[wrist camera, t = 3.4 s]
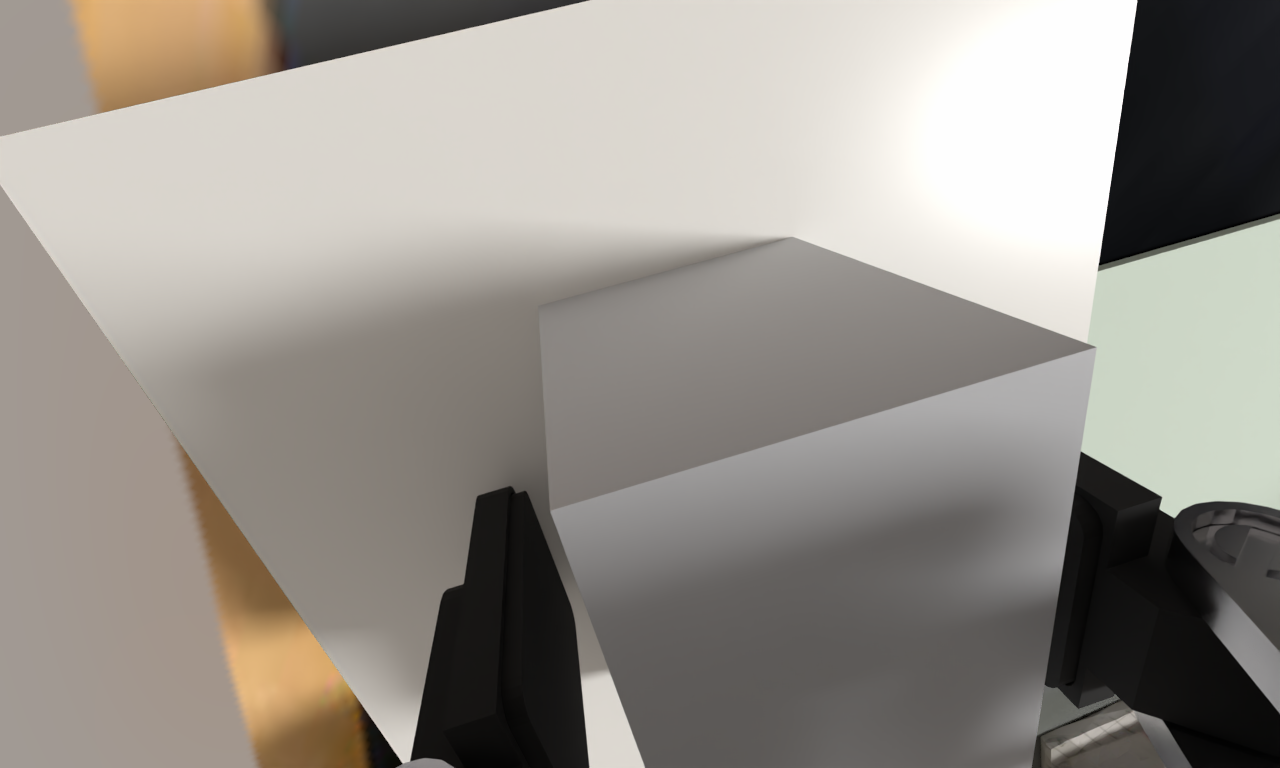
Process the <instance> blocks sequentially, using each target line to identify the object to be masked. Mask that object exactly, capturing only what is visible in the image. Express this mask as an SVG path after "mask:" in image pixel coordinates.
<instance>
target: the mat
mask: <svg viewBox="0 0 1280 768" xmlns="http://www.w3.org/2000/svg"><path fill="white" fill-rule="evenodd" d="M1087 344H1090V345H1092V346H1095V347H1097V350H1096V356H1095V363H1094V369H1093V375H1092V382H1091V388H1090V395H1089V401H1088V408H1087V414H1086V421H1085V427H1084V433H1083V440H1082V446H1081V452H1083V453H1085V454H1087V455H1088V456H1090V457H1092V458H1094V459H1096V460H1097V461H1099V462H1101V463H1103V464H1105V465H1106V466H1108V467H1110V468H1112V469H1113V470H1115V471H1117V472H1119V473H1121V474H1122V475H1124V476H1126V477H1128V478H1129V479H1131V480H1133V481H1135V482H1137V483H1138V484H1140V485H1142V486H1144V487H1145V488H1147V489H1149V490H1151V491H1153V492H1154V493H1156V494H1158V495H1160V496H1161V497H1162V500H1161V504H1160V510H1161V511H1163V512H1165V513H1166V514H1168V515H1170V516H1172V517H1173V518H1175V517H1176V516H1177V515H1178V514H1179V512H1180V511H1181V510H1182V509H1185V508H1187V507H1189V506H1192V505H1194V504H1197V503H1205V502H1212V501H1228V502H1243V503H1249V504H1254V505H1260V506H1266V507H1270V508H1273V509H1277V510H1280V214H1277V215H1274V216H1270V217H1267V218H1263V219H1260V220H1256V221H1253V222H1249V223H1246V224H1243V225H1239V226H1236V227H1232V228H1229V229H1225V230H1222V231H1218V232H1215V233H1211V234H1208V235H1204V236H1201V237H1197V238H1194V239H1190V240H1187V241H1183V242H1180V243H1176V244H1173V245H1169V246H1166V247H1163V248H1159V249H1156V250H1152V251H1149V252H1145V253H1142V254H1138V255H1135V256H1131V257H1128V258H1124V259H1121V260H1117V261H1114V262H1110V263H1107V264H1103V265H1100V266H1098V272H1097V279H1096V285H1095V292H1094V299H1093V306H1092V313H1091V320H1090V327H1089V333H1088V340H1087Z"/></svg>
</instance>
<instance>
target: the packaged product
mask: <svg viewBox="0 0 1280 768" xmlns="http://www.w3.org/2000/svg"><path fill="white" fill-rule="evenodd" d="M1041 768H1166V767H1165V766H1164V764H1163V762H1162V760H1161V759H1160V757H1159V755H1158V753H1157V752H1156V750H1155V748H1154V747H1153V745H1152V743H1151V741H1150V740H1149V738H1148V736H1147V735H1146V733H1145V731H1144V729H1143V728H1142V726H1141V724H1140V722H1139V721H1138V719H1137V717H1136V716H1135V713H1134V711H1133V710H1132V709H1131V708H1129V707H1128V706H1127V705H1126V704H1125V703H1124V702H1123V701H1120V702H1117V703H1115V704H1113V705H1110V706H1108V707H1106V708H1104V709H1102V710H1100V711H1098V712H1096V713H1094V714H1092V715H1090V716H1088V717H1086V718H1084V719H1082V720H1079V721H1077V722H1074V723H1071V724H1068V725H1066V726H1063V727H1060V728H1058V729H1056V730H1054V731H1051V732H1049V733H1047V734H1045V735H1043V736H1041Z"/></svg>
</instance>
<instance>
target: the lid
mask: <svg viewBox="0 0 1280 768" xmlns="http://www.w3.org/2000/svg"><path fill="white" fill-rule="evenodd" d="M1136 5H1137V0H590V1H585V2H581V3H577V4H572V5H568V6H564V7H559V8H555V9H551V10H546V11H542V12H538V13H533V14H529V15H525V16H520V17H516V18H512V19H507V20H503V21H499V22H494V23H490V24H486V25H481V26H477V27H473V28H468V29H464V30H460V31H455V32H451V33H447V34H442V35H438V36H434V37H429V38H425V39H421V40H416V41H412V42H408V43H403V44H399V45H395V46H390V47H386V48H382V49H377V50H373V51H369V52H364V53H360V54H356V55H351V56H347V57H343V58H338V59H334V60H330V61H325V62H321V63H317V64H312V65H308V66H304V67H299V68H295V69H291V70H286V71H282V72H278V73H273V74H269V75H265V76H260V77H256V78H252V79H247V80H243V81H239V82H234V83H230V84H226V85H221V86H217V87H213V88H208V89H204V90H200V91H195V92H191V93H187V94H182V95H178V96H174V97H169V98H165V99H161V100H156V101H152V102H148V103H143V104H139V105H135V106H130V107H126V108H122V109H117V110H113V111H109V112H104V113H100V114H96V115H91V116H87V117H83V118H78V119H74V120H70V121H65V122H61V123H57V124H52V125H48V126H44V127H39V128H35V129H31V130H26V131H22V132H18V133H14V134H9V135H5V136H0V186H1V187H2V188H3V190H4V191H5V193H6V194H7V196H8V197H9V199H10V200H11V201H12V203H13V204H14V206H15V207H16V209H17V210H18V211H19V213H20V214H21V216H22V217H23V219H24V220H25V222H26V223H27V224H28V226H29V227H30V229H31V230H32V232H33V233H34V234H35V236H36V237H37V239H38V240H39V242H40V243H41V245H42V246H43V247H44V249H45V250H46V252H47V253H48V254H49V256H50V257H51V259H52V260H53V262H54V263H55V265H56V266H57V268H58V269H59V270H60V272H61V273H62V274H63V276H64V277H65V279H66V280H67V282H68V283H69V285H70V286H71V288H72V289H73V290H74V292H75V293H76V295H77V296H78V298H79V299H80V300H81V302H82V303H83V305H84V306H85V307H86V309H87V311H88V312H89V313H90V315H91V316H92V318H93V319H94V321H95V322H96V324H97V325H98V326H99V328H100V329H101V331H102V332H103V334H104V335H105V336H106V338H107V339H108V341H109V342H110V344H111V345H112V346H113V348H114V349H115V351H116V352H117V354H118V355H119V356H120V358H121V359H122V361H123V362H124V364H125V365H126V367H127V368H128V369H129V371H130V372H131V374H132V375H133V377H134V378H135V380H136V381H137V382H138V384H139V385H140V387H141V388H142V390H143V391H144V392H145V394H146V395H147V397H148V398H149V400H150V401H151V403H152V404H153V405H154V407H155V408H156V410H157V411H158V412H159V414H160V415H161V417H162V418H163V420H164V421H165V423H166V424H167V425H168V427H169V428H170V430H171V431H172V433H173V434H174V436H175V437H176V438H177V440H178V441H179V443H180V444H181V446H182V447H183V448H184V450H185V451H186V453H187V454H188V456H189V457H190V459H191V460H192V461H193V463H194V464H195V466H196V467H197V469H198V470H199V471H200V473H201V474H202V476H203V477H204V479H205V480H206V482H207V483H208V484H209V486H210V487H211V489H212V490H213V492H214V493H215V494H216V496H217V497H218V499H219V500H220V502H221V503H222V504H223V506H224V507H225V509H226V510H227V512H228V513H229V515H230V516H231V517H232V519H233V520H234V522H235V523H236V525H237V526H238V527H239V529H240V530H241V532H242V533H243V535H244V536H245V538H246V539H247V540H248V542H249V543H250V545H251V546H252V548H253V549H254V550H255V552H256V553H257V555H258V556H259V558H260V559H261V561H262V562H263V563H264V565H265V566H266V568H267V569H268V571H269V572H270V573H271V575H272V576H273V578H274V579H275V581H276V582H277V583H278V585H279V586H280V588H281V589H282V591H283V592H284V594H285V595H286V596H287V598H288V599H289V601H290V602H291V604H292V605H293V606H294V608H295V609H296V611H297V612H298V614H299V615H300V617H301V618H302V619H303V621H304V622H305V624H306V625H307V627H308V628H309V629H310V631H311V632H312V634H313V635H314V637H315V638H316V640H317V641H318V642H319V644H320V645H321V647H322V648H323V650H324V651H325V652H326V654H327V655H328V657H329V658H330V660H331V661H332V662H333V664H334V665H335V667H336V668H337V670H338V671H339V673H340V674H341V675H342V677H343V678H344V680H345V681H346V683H347V684H348V685H349V687H350V688H351V690H352V691H353V693H354V694H355V696H356V697H357V698H358V700H359V701H360V703H361V704H362V706H363V707H364V708H365V710H366V711H367V713H368V714H369V716H370V717H371V719H372V720H373V721H374V723H375V724H376V726H377V727H378V729H379V730H380V731H381V733H382V734H383V736H384V737H385V739H386V740H387V741H388V743H389V744H390V746H391V747H392V749H393V750H394V752H395V753H396V754H397V756H398V757H399V759H400V760H401V762H402V763H403V764H404V763H407V762H410V758H411V753H412V748H413V743H414V737H415V732H416V727H417V722H418V716H419V711H420V706H421V701H422V695H423V690H424V685H425V680H426V675H427V669H428V664H429V659H430V654H431V648H432V643H433V638H434V633H435V627H436V622H437V617H438V612H439V606H440V601H441V598H442V595H443V593H444V592H445V591H446V590H447V589H449V588H452V587H456V586H459V585H462V584H464V579H465V572H466V565H467V558H468V551H469V544H470V537H471V531H472V524H473V517H474V510H475V503H476V498H477V496H478V495H481V494H484V493H488V492H491V491H495V490H498V489H501V488H505V487H508V486H511V487H513V489H514V490H515V492H516V493H519V492H522V491H526V492H527V493H528V495H529V498H530V500H531V503H532V505H533V508H534V510H535V513H536V516H537V518H538V521H539V523H540V526H541V529H542V531H543V534H544V536H545V539H546V541H547V544H548V547H549V549H550V552H551V554H552V557H553V560H554V562H555V565H556V567H557V570H558V573H559V575H560V578H561V580H562V583H563V586H564V588H565V591H566V593H567V596H568V599H569V601H570V604H571V607H572V610H573V614H574V619H575V625H576V634H577V645H578V655H579V665H580V675H581V686H582V696H583V706H584V716H585V727H586V737H587V747H588V757H589V768H1032V762H1033V755H1034V749H1035V743H1036V736H1037V730H1038V723H1039V717H1040V710H1041V704H1042V697H1043V691H1044V685H1045V678H1046V672H1047V665H1048V659H1049V652H1050V646H1051V640H1052V633H1053V627H1054V620H1055V614H1056V607H1057V601H1058V594H1059V588H1060V582H1061V575H1062V569H1063V562H1064V556H1065V549H1066V543H1067V536H1068V530H1069V524H1070V517H1071V511H1072V504H1073V498H1074V491H1075V485H1076V479H1077V472H1078V466H1079V459H1080V453H1081V446H1082V440H1083V433H1084V427H1085V421H1086V414H1087V408H1088V401H1089V395H1090V388H1091V382H1092V375H1093V369H1094V363H1095V356H1096V350H1097V347H1095V346H1092V345H1090V344H1087V340H1088V333H1089V327H1090V320H1091V313H1092V306H1093V299H1094V292H1095V285H1096V279H1097V272H1098V265H1099V258H1100V251H1101V244H1102V238H1103V231H1104V224H1105V217H1106V210H1107V203H1108V197H1109V190H1110V183H1111V176H1112V169H1113V162H1114V156H1115V149H1116V142H1117V135H1118V128H1119V121H1120V115H1121V108H1122V101H1123V94H1124V87H1125V80H1126V74H1127V67H1128V60H1129V53H1130V46H1131V39H1132V33H1133V26H1134V19H1135V12H1136Z"/></svg>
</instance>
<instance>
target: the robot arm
mask: <svg viewBox="0 0 1280 768" xmlns="http://www.w3.org/2000/svg"><path fill="white" fill-rule="evenodd" d="M1161 500H1162V497H1161V496H1160V495H1158V494H1156V493H1154V492H1153V491H1151V490H1149V489H1147V488H1145V487H1144V486H1142V485H1140V484H1138V483H1137V482H1135V481H1133V480H1131V479H1129V478H1128V477H1126V476H1124V475H1122V474H1121V473H1119V472H1117V471H1115V470H1113V469H1112V468H1110V467H1108V466H1106V465H1105V464H1103V463H1101V462H1099V461H1097V460H1096V459H1094V458H1092V457H1090V456H1088V455H1087V454H1085V453H1083V452H1081V453H1080V459H1079V466H1078V472H1077V479H1076V485H1075V491H1074V498H1073V504H1072V511H1071V517H1070V524H1069V530H1068V536H1067V543H1066V549H1065V556H1064V562H1063V569H1062V575H1061V582H1060V588H1059V594H1058V601H1057V607H1056V614H1055V620H1054V627H1053V633H1052V640H1051V646H1050V652H1049V659H1048V665H1047V672H1046V678H1045V685H1046V686H1048V687H1051V688H1056V687H1058V688H1059V689H1060V690H1061V691H1062V692H1063V694H1064V695H1065V696H1066V697H1067V698H1068V699H1069V700H1070V701H1071V702H1072V703H1073V704H1074V705H1075V706H1076V707H1077V708H1078V709H1079V708H1082V707H1085V706H1088V705H1090V704H1093V703H1096V702H1099V701H1102V700H1105V699H1107V698H1110V697H1113V696H1114V694H1116V695H1117V696H1118V697H1119V698H1120V699H1121V700H1122V701H1123V702H1124V703H1125V704H1126V705H1127V706H1128V707H1129V708H1131V709H1132V710H1133V711H1134V713H1135V716H1136V717H1137V719H1138V721H1139V722H1140V724H1141V726H1142V728H1143V729H1144V731H1145V733H1146V735H1147V736H1148V738H1149V740H1150V741H1151V743H1152V745H1153V747H1154V748H1155V750H1156V752H1157V753H1158V755H1159V757H1160V759H1161V760H1162V762H1163V764H1164V766H1165V767H1166V768H1280V510H1277V509H1273V508H1270V507H1266V506H1260V505H1254V504H1249V503H1243V502H1228V501H1212V502H1205V503H1197V504H1194V505H1192V506H1189V507H1187V508H1185V509H1182V510H1181V511H1180V512H1179V514H1178V515H1177V516H1176V517H1175V518H1173V517H1172V516H1170V515H1168V514H1166V513H1165V512H1163V511H1161V510H1160V504H1161ZM396 768H589V757H588V747H587V737H586V727H585V716H584V706H583V696H582V686H581V675H580V665H579V655H578V645H577V634H576V625H575V619H574V614H573V610H572V607H571V604H570V601H569V599H568V596H567V593H566V591H565V588H564V586H563V583H562V580H561V578H560V575H559V573H558V570H557V567H556V565H555V562H554V560H553V557H552V554H551V552H550V549H549V547H548V544H547V541H546V539H545V536H544V534H543V531H542V529H541V526H540V523H539V521H538V518H537V516H536V513H535V510H534V508H533V505H532V503H531V500H530V498H529V495H528V493H527V492H526V491H522V492H519V493H516V492H515V490H514V489H513V487H511V486H508V487H505V488H501V489H498V490H495V491H491V492H488V493H484V494H481V495H478V496H477V498H476V503H475V510H474V517H473V524H472V531H471V537H470V544H469V551H468V558H467V565H466V572H465V579H464V584H462V585H459V586H456V587H452V588H449V589H447V590H446V591H445V592H444V593H443V595H442V598H441V601H440V606H439V612H438V617H437V622H436V627H435V633H434V638H433V643H432V648H431V654H430V659H429V664H428V669H427V675H426V680H425V685H424V690H423V695H422V701H421V706H420V711H419V716H418V722H417V727H416V732H415V737H414V743H413V748H412V753H411V758H410V762H407V763H404V764H402V765H400V766H398V767H396Z"/></svg>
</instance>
